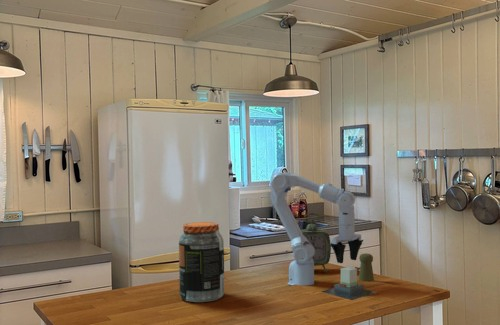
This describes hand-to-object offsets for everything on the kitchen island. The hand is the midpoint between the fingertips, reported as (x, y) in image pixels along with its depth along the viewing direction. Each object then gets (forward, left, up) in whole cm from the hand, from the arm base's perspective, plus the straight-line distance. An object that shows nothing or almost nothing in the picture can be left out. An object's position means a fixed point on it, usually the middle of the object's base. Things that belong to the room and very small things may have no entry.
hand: (346, 261), depth 183 cm
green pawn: (-2, +14, -11) cm, 18 cm away
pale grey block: (+5, -5, -8) cm, 10 cm away
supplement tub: (-27, -46, -11) cm, 54 cm away
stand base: (+5, -5, -10) cm, 13 cm away
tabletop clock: (-28, +11, -11) cm, 32 cm away
